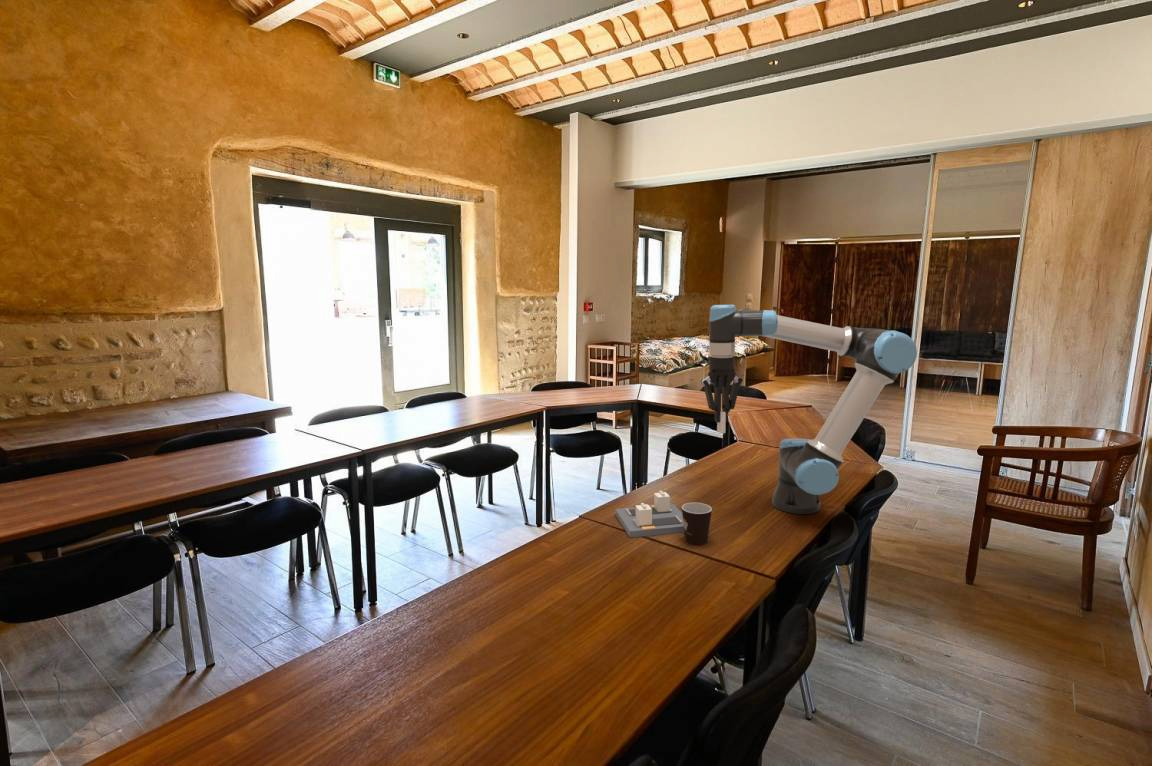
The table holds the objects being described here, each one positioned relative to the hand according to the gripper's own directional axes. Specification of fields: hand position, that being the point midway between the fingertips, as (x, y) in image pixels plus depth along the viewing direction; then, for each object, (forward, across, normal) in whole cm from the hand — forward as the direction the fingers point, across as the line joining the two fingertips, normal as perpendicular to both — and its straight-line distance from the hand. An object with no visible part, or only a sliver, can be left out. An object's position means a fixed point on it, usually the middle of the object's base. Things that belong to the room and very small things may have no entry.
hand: (721, 431), depth 175 cm
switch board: (+29, +21, -3) cm, 36 cm away
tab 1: (+27, +17, -8) cm, 32 cm away
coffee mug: (+29, +12, +10) cm, 33 cm away
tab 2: (+26, +26, +1) cm, 37 cm away
